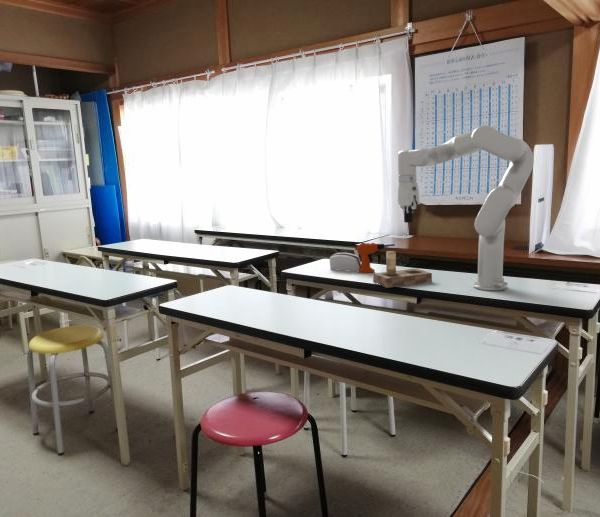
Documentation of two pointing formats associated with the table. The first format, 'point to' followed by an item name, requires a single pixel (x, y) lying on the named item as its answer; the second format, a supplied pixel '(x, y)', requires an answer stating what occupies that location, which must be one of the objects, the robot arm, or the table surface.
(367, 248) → the toy drill
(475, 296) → the table surface
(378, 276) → the board
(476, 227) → the robot arm
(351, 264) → the grey toaster
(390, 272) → the peg
